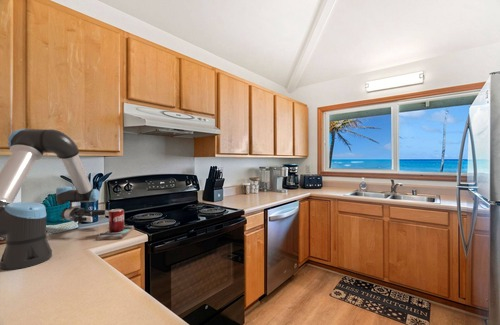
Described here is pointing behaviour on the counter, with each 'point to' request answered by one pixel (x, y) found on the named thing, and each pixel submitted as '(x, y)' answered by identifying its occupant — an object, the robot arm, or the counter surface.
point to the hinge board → (115, 234)
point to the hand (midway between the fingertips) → (103, 216)
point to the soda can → (116, 220)
